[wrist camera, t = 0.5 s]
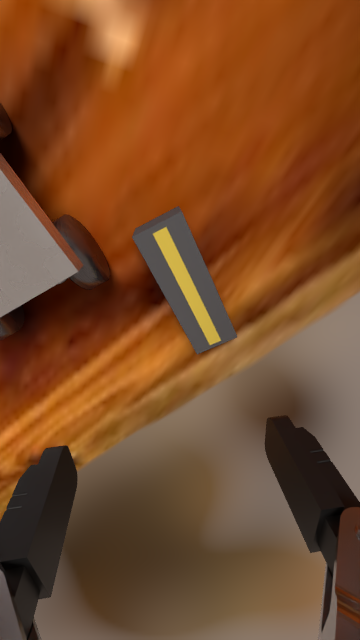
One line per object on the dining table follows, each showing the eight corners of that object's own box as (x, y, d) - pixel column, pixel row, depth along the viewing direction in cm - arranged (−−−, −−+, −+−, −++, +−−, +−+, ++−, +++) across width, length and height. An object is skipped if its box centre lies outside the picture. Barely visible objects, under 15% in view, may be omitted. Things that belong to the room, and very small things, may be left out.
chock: (135, 228, 25) (132, 237, 22) (178, 205, 25) (181, 211, 21) (192, 333, 31) (197, 355, 28) (228, 318, 31) (237, 337, 27)
